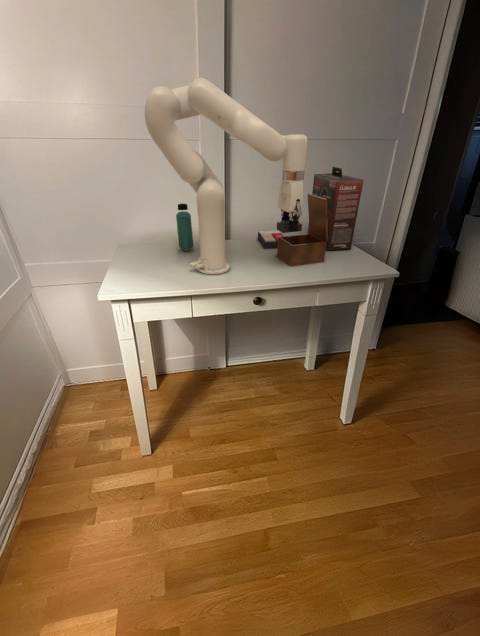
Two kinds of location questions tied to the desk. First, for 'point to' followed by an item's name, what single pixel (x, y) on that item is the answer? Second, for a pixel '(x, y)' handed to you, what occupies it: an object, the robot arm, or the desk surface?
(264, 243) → the calculator
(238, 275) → the desk surface
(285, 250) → the chest
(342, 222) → the headset box
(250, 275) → the desk surface
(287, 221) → the black capsule on box
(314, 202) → the lid
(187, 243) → the beverage bottle
